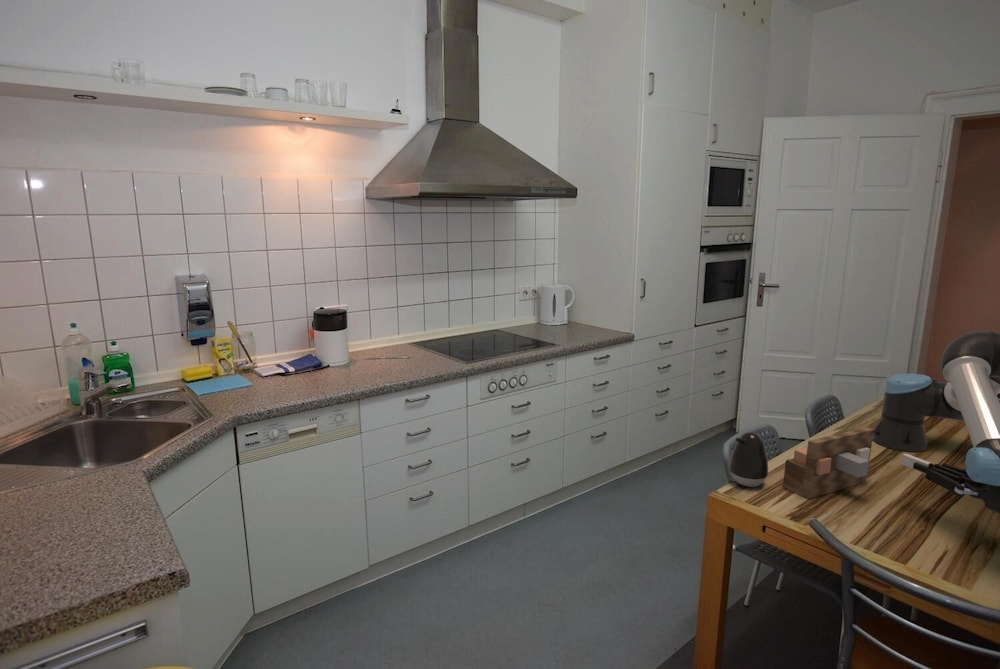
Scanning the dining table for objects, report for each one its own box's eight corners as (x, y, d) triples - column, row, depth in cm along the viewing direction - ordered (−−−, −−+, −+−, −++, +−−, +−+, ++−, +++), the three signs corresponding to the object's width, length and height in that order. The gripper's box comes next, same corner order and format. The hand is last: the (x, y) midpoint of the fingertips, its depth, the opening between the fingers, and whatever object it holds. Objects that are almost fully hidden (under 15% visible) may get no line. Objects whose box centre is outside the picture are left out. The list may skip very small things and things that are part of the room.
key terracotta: (803, 460, 160) (804, 447, 159) (829, 472, 153) (831, 458, 152) (793, 463, 158) (794, 450, 157) (819, 475, 151) (821, 461, 150)
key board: (839, 470, 169) (846, 420, 166) (866, 482, 162) (873, 429, 159) (782, 486, 160) (788, 433, 156) (808, 499, 153) (815, 443, 149)
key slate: (839, 462, 159) (841, 449, 158) (867, 474, 151) (869, 460, 151) (829, 465, 157) (831, 452, 156) (857, 477, 150) (859, 463, 149)
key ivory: (841, 451, 166) (843, 438, 165) (868, 461, 159) (870, 448, 158) (832, 453, 165) (833, 440, 164) (858, 464, 158) (860, 451, 157)
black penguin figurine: (719, 478, 165) (723, 428, 162) (747, 472, 168) (752, 424, 165) (745, 494, 155) (750, 442, 152) (774, 487, 159) (780, 436, 156)
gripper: (993, 522, 125) (885, 477, 146) (1025, 509, 130) (916, 467, 151) (1000, 491, 124) (889, 450, 144) (1032, 479, 129) (921, 441, 150)
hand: (903, 458), depth 148 cm, fingers closed
